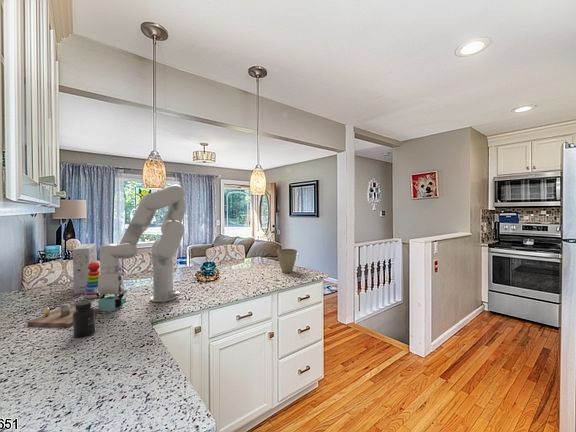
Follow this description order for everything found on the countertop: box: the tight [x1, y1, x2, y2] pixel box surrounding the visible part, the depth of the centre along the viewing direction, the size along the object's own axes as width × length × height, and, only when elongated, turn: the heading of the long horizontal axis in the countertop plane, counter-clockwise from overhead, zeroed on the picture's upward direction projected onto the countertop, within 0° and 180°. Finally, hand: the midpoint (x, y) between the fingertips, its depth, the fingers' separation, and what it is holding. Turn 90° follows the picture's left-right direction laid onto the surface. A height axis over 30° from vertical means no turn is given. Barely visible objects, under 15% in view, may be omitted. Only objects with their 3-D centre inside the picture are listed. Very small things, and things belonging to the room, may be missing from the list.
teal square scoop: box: [97, 294, 127, 312], centre depth 136 cm, size 13×7×5 cm, turn 175°
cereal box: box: [72, 243, 98, 294], centre depth 165 cm, size 22×8×25 cm, turn 25°
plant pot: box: [276, 248, 298, 273], centre depth 207 cm, size 15×15×16 cm
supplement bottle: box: [72, 300, 96, 338], centre depth 106 cm, size 7×7×12 cm
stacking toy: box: [84, 262, 100, 300], centre depth 149 cm, size 8×8×19 cm
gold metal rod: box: [44, 306, 50, 317], centre depth 119 cm, size 1×1×4 cm
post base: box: [27, 303, 100, 328], centre depth 121 cm, size 18×16×6 cm
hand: (110, 306), depth 133 cm, fingers closed on teal square scoop, 7 cm apart
